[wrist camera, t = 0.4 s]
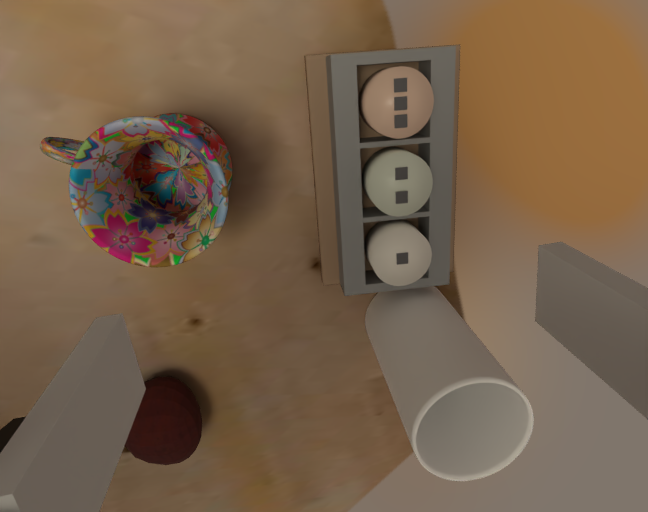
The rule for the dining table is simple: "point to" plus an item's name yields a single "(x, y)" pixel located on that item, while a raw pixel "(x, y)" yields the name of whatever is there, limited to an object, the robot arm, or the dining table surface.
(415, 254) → the button
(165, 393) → the potato
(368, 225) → the console
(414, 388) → the cup
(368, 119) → the button
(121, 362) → the robot arm
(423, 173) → the button
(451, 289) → the dining table surface
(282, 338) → the dining table surface
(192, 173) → the mug
